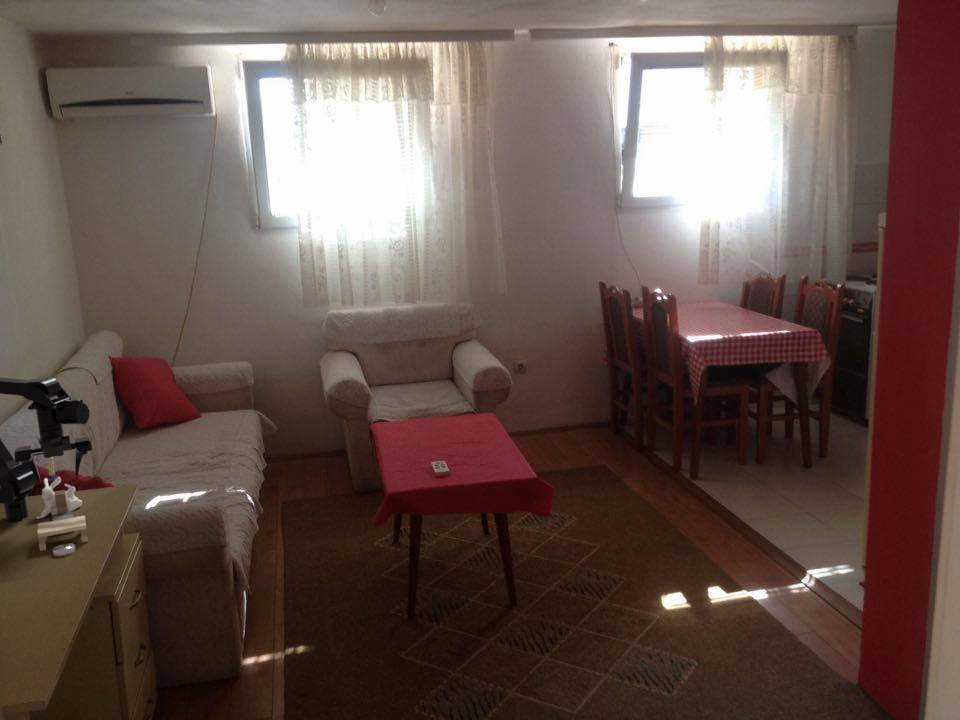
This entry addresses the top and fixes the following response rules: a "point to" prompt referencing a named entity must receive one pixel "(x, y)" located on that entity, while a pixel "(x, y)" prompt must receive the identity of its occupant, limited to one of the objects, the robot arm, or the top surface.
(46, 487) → the rabbit figurine
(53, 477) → the toy lamp
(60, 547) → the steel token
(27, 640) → the top surface
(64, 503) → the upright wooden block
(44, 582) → the top surface
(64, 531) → the footstool
